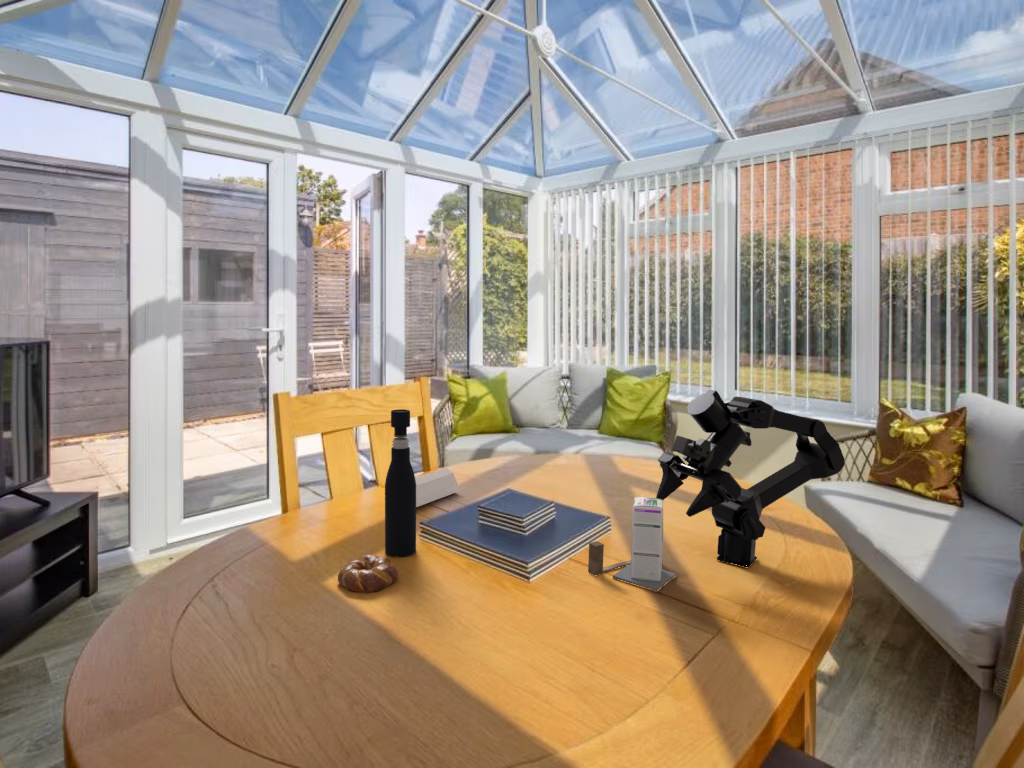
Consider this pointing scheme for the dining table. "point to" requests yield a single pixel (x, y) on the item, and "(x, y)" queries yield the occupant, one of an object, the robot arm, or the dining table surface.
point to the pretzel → (368, 574)
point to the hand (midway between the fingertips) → (671, 507)
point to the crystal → (435, 486)
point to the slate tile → (655, 585)
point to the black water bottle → (400, 492)
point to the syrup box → (647, 539)
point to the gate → (600, 559)
